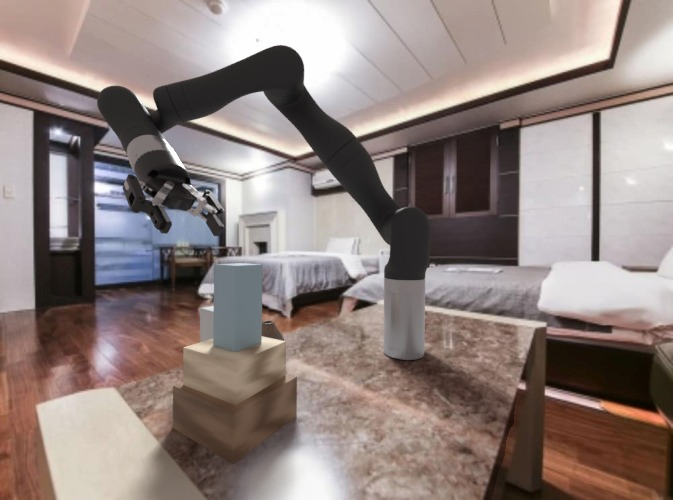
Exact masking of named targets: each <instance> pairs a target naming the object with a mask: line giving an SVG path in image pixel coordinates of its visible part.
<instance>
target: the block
mask: <svg viewBox="0 0 673 500" xmlns="http://www.w3.org/2000/svg"><path fill="white" fill-rule="evenodd" d="M263 265H264V264H259V263H245V262H243V263H242V262H241V263H240V262H238V263H218V264H217V263H216V264H214V265H213V272H214V273H213V306H214V319H213V345H214V346H217V347H220V348H223V349H226V350H229V351H232V352H237V351H239V350H242V349H245V348H248V347H251V346H254V345H257V344H260V343H261V340H262V322H263V273H264V272H263V271H264V270H263V268H264V267H263Z"/></svg>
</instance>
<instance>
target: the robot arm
mask: <svg viewBox="0 0 673 500" xmlns="http://www.w3.org/2000/svg"><path fill="white" fill-rule="evenodd" d="M262 92H263V94H264V96H265V97H266V98H267V100H268V101H269V102H270V103H271V104H272V105H273V107H275V109H276V110H278V111H279V113H280V114H282V115H283V116H284V118H286V119H287V120H288V121H289V122H290V124H292V126H293V127H295V128H296V130H298V132H299V133H300V135H301V136H302V137H303V139H304V140H305V142H306V143H307V144H308V145H309V147H310V148H311V150H312V151H313V153H315V155H316V156H317V157H318V158H319V160H320V161H321V163H322V164H323V165H324V166H325V167H326V168H327V171H329V173H330V174H331V175H333V177H334V179H336V180H337V182H338V183H339V184H340V185H341V186H342V187H343V189H344V190H345V191H346V192H347V193H348V194H349V196H350V197H351V198H352V199H353V201H355V202H356V203H357V204H358V205H359V206H360V208H361V209H362V210H363V212H364V214H366V215H367V217H368V219H369V220H370V222H371V224H372V225H373V226H374V228H375V230H376V231H377V233H378V234H379V235H380V237H381V238H382V240H383V241H384V242H385V243H386V244H387V245H389V256H388V257H389V258H388V261H387V263H386V264H385V265H384V267H383V268H384V269H383V270H384V271H383V334H382V335H383V339H382V341H383V343H382V346H383V348H382V349H383V350H382V351H383V354H385V355H386V356H387V357H389V358H393V359H397V360H402V361H403V360H405V361H412V360H413V361H414V360H419V359H421V358H423V357H425V338H426V337H425V335H426V333H425V332H426V331H425V330H426V329H425V328H426V327H425V326H426V325H425V324H426V273H427V269H428V267H429V265H430V264H429V263H430V253H431V224H430V221H429V217H428V215H427V214H426V213H425V212H424V211H423V210H422V209H420V208H418V207H416V206H405V207H401V206H400V205H399V204H398V203H397V202H396V201H395V200H394V199H393V197H392V196H391V195H390V194H389V193H388V191H387V190H386V188H385V185H383V183H382V180H381V178H380V175H379V172H378V170H377V167H376V165H375V162H374V161H373V158H372V156H371V154H370V153H369V152H368V150H367V149H366V148H365V146H364V145H363V144H362V143H361V142H360V140H359V139H358V137H356V135H355V134H354V133H353V132H352V131H351V130H350V129H349V128H348V127H347V126H345V125H344V124H342V123H341V122H339V121H338V120H336V119H335V118H333V117H332V116H330V115H329V114H328V113H326V112H325V110H323V109H322V108H321V107H320V106H319V105H318V103H317V102H316V100H315V99H314V97H312V95H311V94H310V92H309V90H308V88H307V87H306V86H305V64H304V60H303V59H302V57H301V55H300V54H299V52H297V51H296V50H295V49H294V48H292V47H291V46H287V45H282V44H278V45H273V46H269V47H268V48H267V47H266V48H265V49H263V50H260V51H258V52H256V53H253V54H251V55H249V56H247V57H245V58H243V59H240V60H238V61H236V62H234V63H231V64H228V65H226V66H223V67H222V68H220V69H216V70H214V71H211V72H209V73H206V74H203V75H200V76H197V77H193V78H188V79H185V80H180V81H176V82H172V83H168V84H164V85H161V86H157V87H156V88H154V89H153V91H152V97H153V102H154V103H155V107H156V110H154V111H152V112H150V113H149V111H148V109H147V108H146V107H145V105H144V104H143V103H142V101H141V100H140V98H139V97H138V96H137V94H136V93H135V92H134V91H132V90H131V89H129V88H128V87H126V86H122V85H109V86H106V87H105V88H103V89H102V90H101V91H100V92H99V94H98V95H97V101H96V106H97V108H98V112H99V113H100V114H101V116H102V118H103V119H104V120H105V121H106V123H107V124H108V126H109V127H110V129H111V130H112V131H113V132H114V134H115V135H116V137H117V138H118V140H119V142H120V144H121V147H122V149H123V150H124V152H125V154H126V155H127V158H128V161H129V162H128V163H129V164H130V167H131V168H132V169H131V170H132V171H133V173H134V174H135V175H134V174H132V173H131V174H128V175H127V176H126V178H125V181H124V183H123V186H122V192H123V194H124V196H125V200H126V201H127V204H128V207H129V209H130V211H131V212H132V213H134V214H139V213H145V215H146V216H147V217H149V219H150V221H151V222H152V224H153V226H154V228H155V229H156V230H159V232H160V233H161V234H166V235H167V234H168V233H169V231H170V230H171V228H172V226H173V221H171V218H170V217H169V215H168V213H167V211H166V209H165V207H166V208H167V209H170V210H180V211H184V212H185V211H186V212H187V213H188V214H190V215H191V216H193V217H199V218H200V219H201V220H204V221H205V224H206V225H207V227H208V229H209V231H210V232H211V234H212V235H213V236H214V237H219V236H221V234H222V233H223V231H224V229H225V225H224V224H223V222H222V220H221V217H222V215H223V214H224V212H225V208H224V207H223V206H222V204H221V203H220V201H219V200H218V199H217V198H216V196H215V195H214V193H213V192H212V191H211V190H209V189H205V190H204V192H201V191H198V190H197V189H196V188H195V187H194V186H193V185H192V182H191V176H190V173H189V172H188V170H187V168H186V167H185V165H184V164H183V162H182V161H181V160H180V158H179V156H178V154H177V153H176V151H175V150H174V148H173V147H171V145H170V144H169V143H168V141H167V140H166V138H165V136H164V135H163V134H165V132H168V131H169V130H171V129H172V128H173V127H176V126H177V125H180V124H183V123H188V122H192V121H195V120H199V119H202V118H205V117H208V116H211V115H213V114H215V113H217V112H218V111H220V110H222V109H224V107H226V106H228V105H229V104H231V103H232V102H235V101H236V100H238V99H240V98H242V97H245V96H248V95H251V94H256V93H262ZM146 195H147V196H148V197H150V198H152V199H151V200H148V199H146ZM196 202H197V203H198V204H197V206H196V208H194V207H193V206H194V204H195V203H196ZM203 210H206V212H207V213H205V212H203Z"/></svg>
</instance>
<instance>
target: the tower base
mask: <svg viewBox="0 0 673 500" xmlns="http://www.w3.org/2000/svg"><path fill="white" fill-rule="evenodd" d="M297 396H298V377H297V376H296V375H292V374H289V373H286V376H285V377H283V378H282V379H280V380H278V381H277V382H275V383H273V384H272V385H270V386H268V387H266V388H265V389H263V390H261V391H260V392H258V393H256V394H254V395H253V396H251V397H249V398H248V399H246V400H244V401H242V402H241V403H239V404H237V405H234V404H231V403H228V402H226V401H223V400H221V399H218V398H216V397H213V396H211V395H208V394H205V393H203V392H200V391H198V390H195V389H193V388H190V387H187V386H185V385H183V381H182V382H178V383H175V384H173V385H172V428H173V429H174V430H175V431H177V432H179V433H180V434H182V435H183V436H185V437H186V438H189V439H190V440H192V441H194V442H195V443H197V444H199V445H200V446H201V447H203V448H205V449H207V450H209V451H210V452H212V453H214V454H215V455H217V456H218V457H220V458H221V459H223V460H225V461H227V462H228V463H230V464H231V465H233V464H235V463H236V462H238V460H240V459H241V458H243V457H245V455H247V454H248V453H249V452H251V451H252V450H254V449H255V448H256V447H257V446H259V445H260V444H261V443H263V442H264V441H266V440H267V439H268V438H270V437H271V436H272V435H273V434H275V433H276V432H278V431H279V430H281V429H282V428H283V427H284V426H286V425H287V424H288V423H290V422H291V421H292V420H294V419H295V418H297V416H298V415H297V410H298V406H297V405H298V403H297V402H298V397H297Z"/></svg>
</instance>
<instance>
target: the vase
mask: <svg viewBox="0 0 673 500" xmlns="http://www.w3.org/2000/svg"><path fill="white" fill-rule="evenodd" d="M262 336H263V337H268V338H273V339H277V340H282V341H285V338H284V335H283V333H282V332H281V331H280V329H279V328H278V326H277V325H276V324H275V321H274V320H264V321H263V320H262Z"/></svg>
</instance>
